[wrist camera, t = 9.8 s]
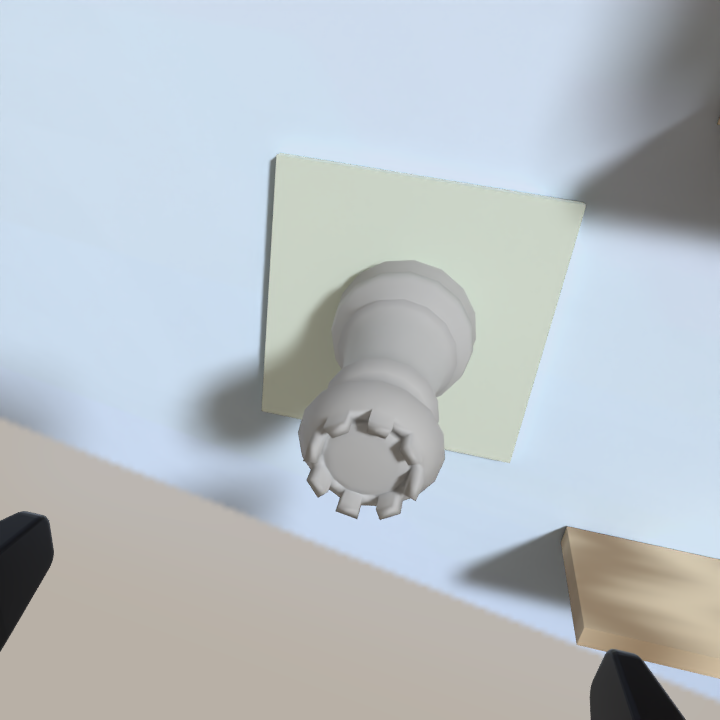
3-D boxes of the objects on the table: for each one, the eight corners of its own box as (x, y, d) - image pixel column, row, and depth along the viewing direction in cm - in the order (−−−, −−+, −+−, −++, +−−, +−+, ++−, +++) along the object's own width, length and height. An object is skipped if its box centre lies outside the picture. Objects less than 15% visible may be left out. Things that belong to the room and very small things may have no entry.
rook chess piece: (361, 393, 21) (299, 563, 14) (320, 273, 19) (226, 397, 12) (490, 370, 20) (493, 544, 13) (459, 238, 18) (442, 355, 11)
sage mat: (584, 202, 17) (586, 205, 17) (509, 456, 22) (509, 462, 21) (280, 152, 18) (276, 155, 18) (265, 405, 23) (261, 411, 22)
